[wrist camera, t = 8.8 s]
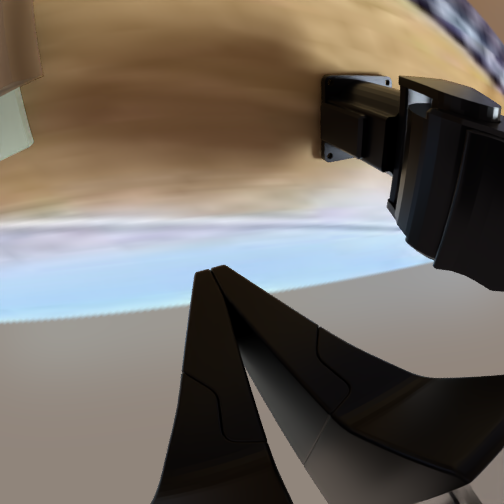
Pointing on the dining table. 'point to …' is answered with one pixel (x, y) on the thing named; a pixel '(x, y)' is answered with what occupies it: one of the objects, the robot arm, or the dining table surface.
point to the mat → (13, 125)
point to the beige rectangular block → (18, 45)
